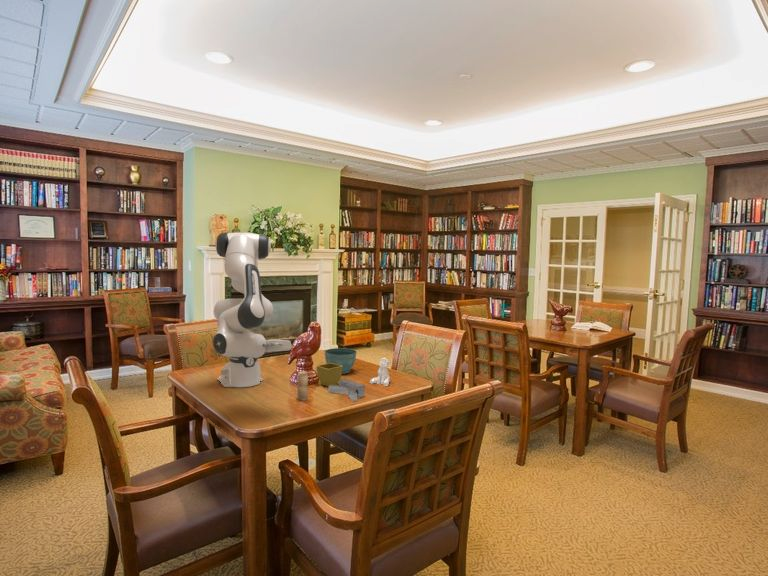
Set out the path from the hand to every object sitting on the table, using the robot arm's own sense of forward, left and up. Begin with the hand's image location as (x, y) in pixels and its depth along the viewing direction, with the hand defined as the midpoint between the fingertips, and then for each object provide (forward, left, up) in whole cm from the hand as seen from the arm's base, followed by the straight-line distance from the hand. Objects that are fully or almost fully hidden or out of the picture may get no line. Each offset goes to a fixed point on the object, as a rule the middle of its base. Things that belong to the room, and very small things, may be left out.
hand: (282, 347), depth 184 cm
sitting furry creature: (+3, +52, -23) cm, 57 cm away
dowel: (0, +10, -23) cm, 25 cm away
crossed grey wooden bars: (+7, +28, -23) cm, 37 cm away
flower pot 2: (-10, +31, -23) cm, 40 cm away
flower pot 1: (-25, +49, -23) cm, 60 cm away
